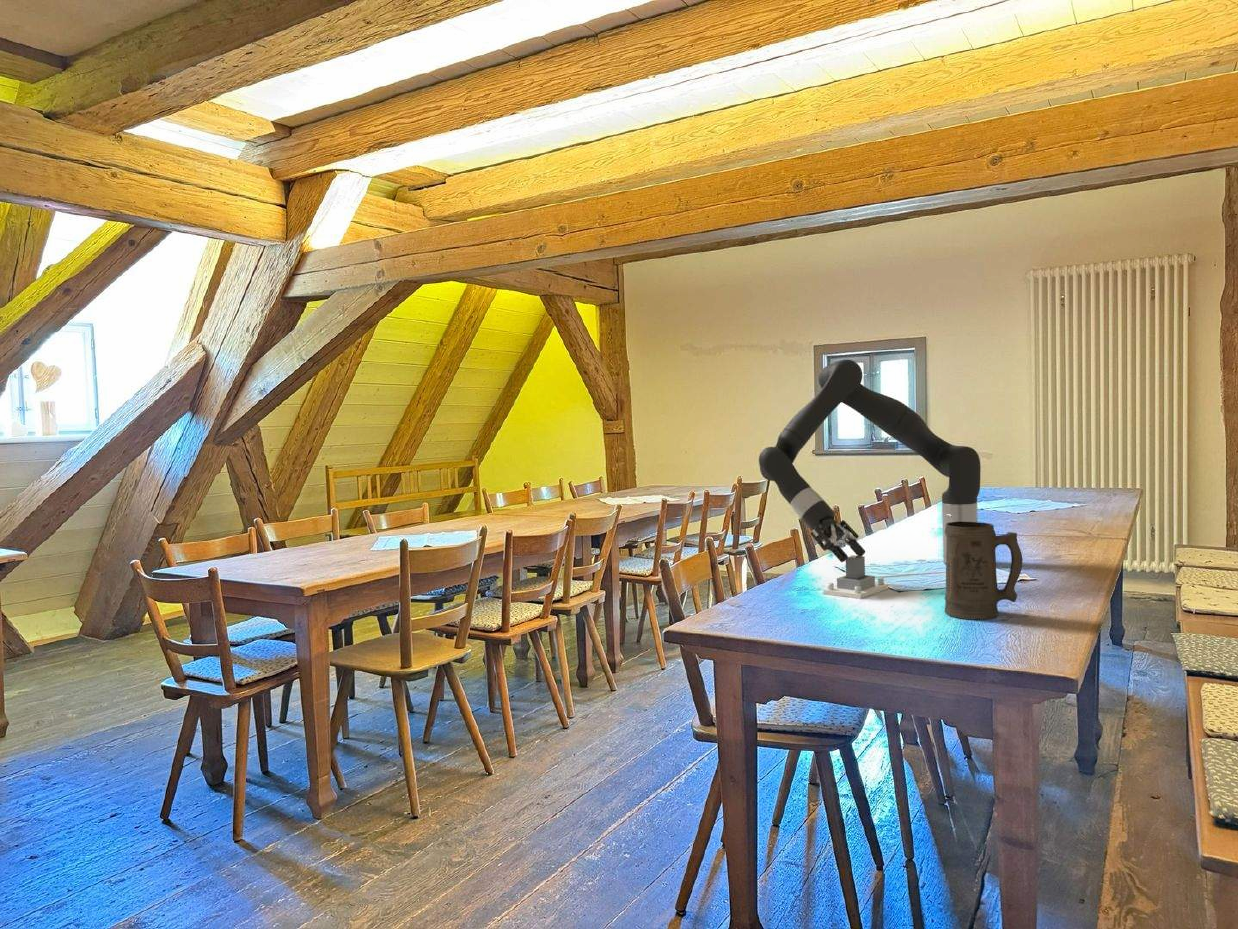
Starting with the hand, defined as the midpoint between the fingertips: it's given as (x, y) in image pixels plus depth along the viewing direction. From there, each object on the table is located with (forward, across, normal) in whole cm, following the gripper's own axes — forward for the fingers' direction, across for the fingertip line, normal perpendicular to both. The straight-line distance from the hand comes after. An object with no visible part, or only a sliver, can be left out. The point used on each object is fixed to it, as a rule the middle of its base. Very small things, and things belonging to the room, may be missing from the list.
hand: (854, 557), depth 208 cm
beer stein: (+30, -6, -18) cm, 35 cm away
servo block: (+5, 0, +5) cm, 7 cm away
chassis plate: (+6, 0, +6) cm, 8 cm away
